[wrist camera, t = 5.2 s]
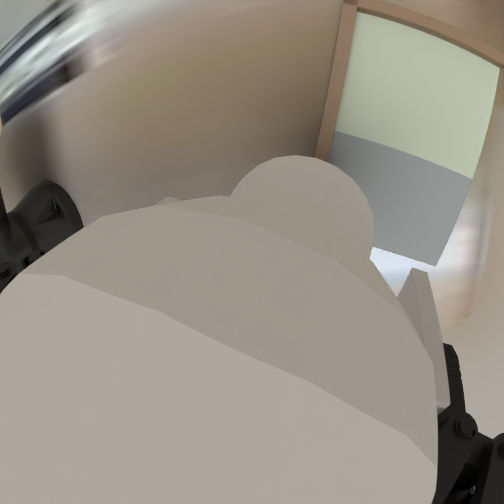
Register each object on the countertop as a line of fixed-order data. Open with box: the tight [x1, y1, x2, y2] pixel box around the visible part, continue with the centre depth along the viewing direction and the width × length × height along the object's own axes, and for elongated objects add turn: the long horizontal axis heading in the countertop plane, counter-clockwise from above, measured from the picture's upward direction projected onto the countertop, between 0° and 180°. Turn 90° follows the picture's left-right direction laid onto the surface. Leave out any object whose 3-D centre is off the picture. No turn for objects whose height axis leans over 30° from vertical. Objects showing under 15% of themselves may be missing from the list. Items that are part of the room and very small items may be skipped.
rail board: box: [314, 0, 504, 266], centre depth 24 cm, size 16×24×3 cm, turn 172°
